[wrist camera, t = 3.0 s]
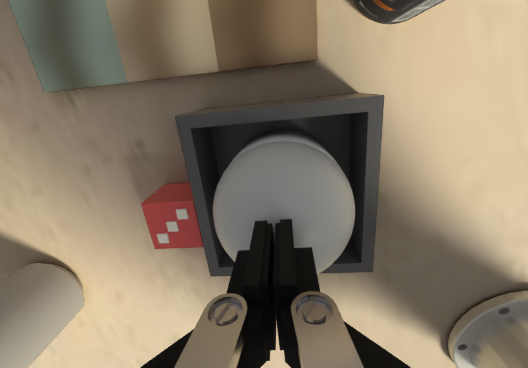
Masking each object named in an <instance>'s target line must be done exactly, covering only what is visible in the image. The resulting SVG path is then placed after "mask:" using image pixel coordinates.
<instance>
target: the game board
mask: <svg viewBox="0 0 528 368" xmlns="http://www.w3.org/2000/svg"><path fill="white" fill-rule="evenodd" d="M8 1H9V4H10V6H11V9H12V11H13V14H14V17H15V19H16V22H17V24H18V27H19V29H20V32H21V34H22V37H23V40H24V42H25V45H26V47H27V50H28V52H29V55H30V57H31V60H32V63H33V65H34V68H35V70H36V73H37V75H38V78H39V80H40V83H41V86H42V88H43V91H44V92H55V91H64V90H72V89H80V88H89V87H97V86H105V85H114V84H122V83H130V82H139V81H147V80H156V79H164V78H172V77H181V76H189V75H197V74H206V73H214V72H222V71H231V70H239V69H247V68H256V67H264V66H273V65H281V64H289V63H298V62H306V61H314V60H317V17H316V0H8Z"/></svg>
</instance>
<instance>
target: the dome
mask: <svg viewBox="0 0 528 368" xmlns="http://www.w3.org/2000/svg"><path fill="white" fill-rule="evenodd" d="M213 218H214V226H215V229H216V233H217V235H218V238H219V240H220V242H221V244H222V246H223V248H224V250H225V251H226V252H227V254H228V255H229V256H230V257H231V258H232V260H233V261H234V262H235V260H236V256H237V252H238V251H239V250H249V248H250V243H251V238H252V233H253V228H254V223H255V221H263V220H267V222H268V223H272V228H273V237H274V245H275V224H276V223H280V220H281V219H292V226H293V240H294V248H303V247H312V250H313V256H314V261H315V267H316V272H317V274H319V273H321V272H322V271H324V270H325V269H327V268H328V267H329V266H330V265H331V264H332V263H333V262H334V261H336V260H337V259H338V257H339V256H340V255H341V254H342V252H343V251H344V249H345V247H346V246H347V244H348V242H349V239H350V237H351V235H352V231H353V227H354V221H355V202H354V197H353V192H352V189H351V186H350V184H349V182H348V179H347V178H346V176H345V174H344V172H343V171H342V169H341V168H340V166H339V165H338V163H337V162H336V161H335V159H334V158H333V156H332V155H331V153H330V152H329V151H328V149H327V148H326V147H325V146H324V145H323V144H322V143H320V142H319V141H318V140H316V139H315V138H313V137H311V136H310V135H307V134H305V133H302V132H298V131H294V130H274V131H269V132H266V133H263V134H261V135H258V136H256V137H255V138H253V139H251V140H250V141H249V142H248V143H246V144H245V145H244V146H243V147H242V148H241V149H240V150H239V152H238V153H237V155H236V156H235V157H234V159H233V160H232V162H231V163H230V164H229V166H228V167H227V169H226V170H225V172H224V173H223V175H222V177H221V179H220V181H219V183H218V185H217V188H216V191H215V196H214V202H213Z"/></svg>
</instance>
